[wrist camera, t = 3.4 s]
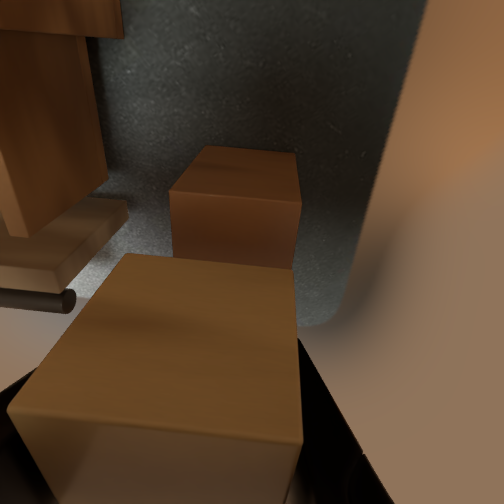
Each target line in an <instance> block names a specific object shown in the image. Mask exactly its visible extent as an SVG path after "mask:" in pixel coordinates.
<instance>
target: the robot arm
mask: <svg viewBox="0 0 504 504" xmlns="http://www.w3.org/2000/svg"><path fill="white" fill-rule="evenodd" d="M297 340H298V358H299V375H300V392H301V409H302V426H303V445H302V448H301V451H300V455H299V458H298V462H297V465H296V469H295V472H294V476H293V479H292V483H291V486H290V490H289V493H288V497H287V500H286V503H285V504H394V502H393V500H392V499H391V497H390V496H389V495H388V493H387V491H386V489H385V488H384V486H383V484H382V483H381V481H380V479H379V478H378V476H377V474H376V473H375V471H374V469H373V467H372V466H371V464H370V462H369V460H368V459H367V457H366V455H365V454H362V453H363V450H362V448H361V446H360V445H359V443H358V441H357V439H356V438H355V436H354V434H353V432H352V431H351V429H350V427H349V425H348V424H347V422H346V420H345V419H344V417H343V415H342V413H341V411H340V410H339V408H338V406H337V404H336V403H335V401H334V399H333V397H332V396H331V394H330V392H329V390H328V389H327V387H326V385H325V383H324V382H323V380H322V378H321V376H320V374H319V373H318V371H317V369H316V367H315V366H314V364H313V362H312V360H311V359H310V357H309V355H308V353H307V352H306V350H305V348H304V346H303V345H302V343H301V341H300V340H299V339H298V338H297ZM36 369H37V368H35V369H34V370H32V371H31V372H29V373H28V374H26V375H25V376H24V377H22V378H21V379H19V380H18V381H16V382H15V383H13V384H12V385H10V386H9V387H7V388H6V389H4V390H3V391H2V392H0V504H58V502H57V500H56V498H55V497H54V495H53V493H52V491H51V489H50V488H49V486H48V484H47V482H46V481H45V479H44V477H43V475H42V474H41V472H40V470H39V468H38V466H37V465H36V463H35V461H34V459H33V458H32V456H31V454H30V452H29V450H28V449H27V447H26V445H25V443H24V442H23V440H22V438H21V436H20V435H19V433H18V431H17V429H16V427H15V426H14V424H13V422H12V420H11V419H10V417H9V415H8V413H7V408H8V405H9V404H10V402H11V401H12V400H13V398H14V397H15V396H16V395H17V393H18V392H19V391H20V389H21V388H22V387H23V386H24V384H25V383H26V382H27V380H28V379H29V378H30V376H31V375H32V374H33V373H34V371H35V370H36Z"/></svg>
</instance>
